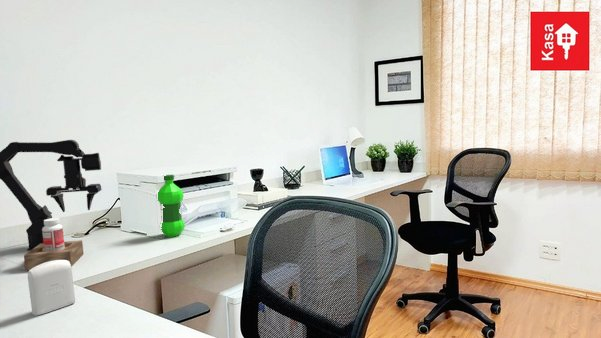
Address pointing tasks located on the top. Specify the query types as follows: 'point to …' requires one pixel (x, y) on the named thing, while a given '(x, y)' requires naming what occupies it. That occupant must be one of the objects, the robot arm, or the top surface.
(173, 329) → the top surface
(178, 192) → the plastic bottle
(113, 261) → the top surface
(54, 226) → the pill bottle
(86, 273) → the top surface
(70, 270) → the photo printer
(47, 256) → the wooden tray
